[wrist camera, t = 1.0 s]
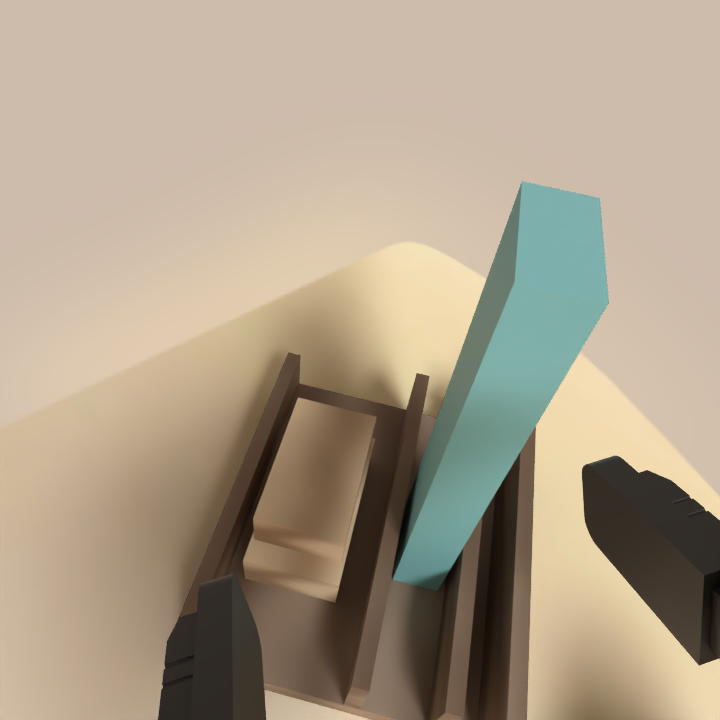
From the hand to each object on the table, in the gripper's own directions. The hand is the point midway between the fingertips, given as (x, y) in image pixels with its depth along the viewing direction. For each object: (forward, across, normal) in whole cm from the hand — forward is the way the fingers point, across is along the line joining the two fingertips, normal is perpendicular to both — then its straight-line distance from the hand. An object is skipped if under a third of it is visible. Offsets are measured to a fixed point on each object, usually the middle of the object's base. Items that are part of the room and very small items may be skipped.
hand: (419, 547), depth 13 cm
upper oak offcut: (+17, +2, +10) cm, 20 cm away
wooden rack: (+18, 0, +15) cm, 23 cm away
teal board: (+16, -3, +15) cm, 22 cm away
